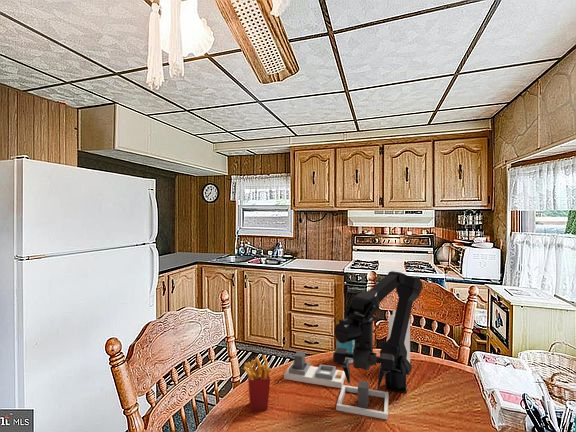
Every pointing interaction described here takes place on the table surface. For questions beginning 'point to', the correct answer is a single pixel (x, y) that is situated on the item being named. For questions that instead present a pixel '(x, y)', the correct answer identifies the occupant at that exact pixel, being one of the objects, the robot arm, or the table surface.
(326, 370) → the power strip
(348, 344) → the pill bottle
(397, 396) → the table surface
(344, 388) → the white square frame
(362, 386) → the plug
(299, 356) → the plug
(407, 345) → the milk
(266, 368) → the french fries
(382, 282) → the robot arm
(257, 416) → the table surface
